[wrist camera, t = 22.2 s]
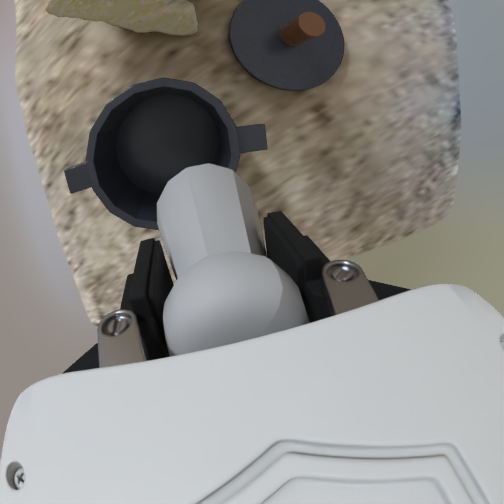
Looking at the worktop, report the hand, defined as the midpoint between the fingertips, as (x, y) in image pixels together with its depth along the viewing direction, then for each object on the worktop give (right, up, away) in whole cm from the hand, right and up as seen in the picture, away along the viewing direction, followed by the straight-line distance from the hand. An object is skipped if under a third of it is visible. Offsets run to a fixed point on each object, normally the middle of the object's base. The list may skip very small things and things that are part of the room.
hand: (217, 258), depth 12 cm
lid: (+6, +26, +15) cm, 30 cm away
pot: (-8, +13, +19) cm, 24 cm away
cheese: (-12, +28, +10) cm, 32 cm away
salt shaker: (-2, +4, +7) cm, 8 cm away
